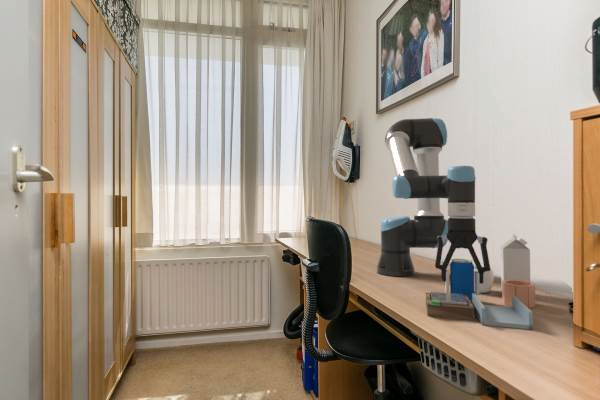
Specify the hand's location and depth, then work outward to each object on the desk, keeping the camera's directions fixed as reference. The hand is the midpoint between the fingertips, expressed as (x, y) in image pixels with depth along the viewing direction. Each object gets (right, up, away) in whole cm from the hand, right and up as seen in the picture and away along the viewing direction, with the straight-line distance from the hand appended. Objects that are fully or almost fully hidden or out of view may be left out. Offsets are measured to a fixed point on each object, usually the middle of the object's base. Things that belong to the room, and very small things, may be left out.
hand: (462, 292), depth 103 cm
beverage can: (0, -2, 0) cm, 2 cm away
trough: (+2, -2, -15) cm, 16 cm away
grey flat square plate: (-9, +1, -10) cm, 13 cm away
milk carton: (+20, -2, +6) cm, 21 cm away
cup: (+15, -2, -4) cm, 15 cm away
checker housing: (-9, -2, -10) cm, 13 cm away
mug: (+9, -2, +11) cm, 14 cm away
